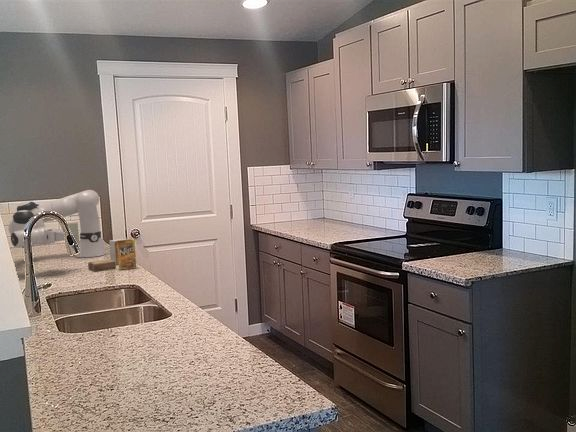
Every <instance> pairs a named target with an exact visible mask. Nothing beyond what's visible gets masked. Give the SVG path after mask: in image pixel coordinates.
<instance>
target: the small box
mask: <svg viewBox="0 0 576 432" xmlns="http://www.w3.org/2000/svg"><path fill="white" fill-rule="evenodd" d="M122 239H123V238H118V239H111V240H108V241H109V254H110V260H112V261H114V262H115V264H116V265H118V266H119V263H118V250H117V240H122Z"/></svg>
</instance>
